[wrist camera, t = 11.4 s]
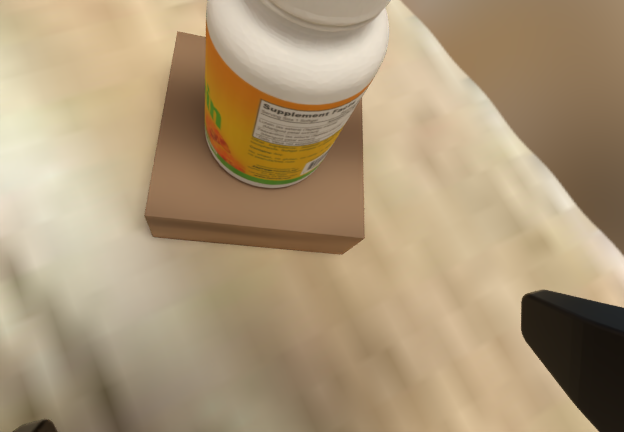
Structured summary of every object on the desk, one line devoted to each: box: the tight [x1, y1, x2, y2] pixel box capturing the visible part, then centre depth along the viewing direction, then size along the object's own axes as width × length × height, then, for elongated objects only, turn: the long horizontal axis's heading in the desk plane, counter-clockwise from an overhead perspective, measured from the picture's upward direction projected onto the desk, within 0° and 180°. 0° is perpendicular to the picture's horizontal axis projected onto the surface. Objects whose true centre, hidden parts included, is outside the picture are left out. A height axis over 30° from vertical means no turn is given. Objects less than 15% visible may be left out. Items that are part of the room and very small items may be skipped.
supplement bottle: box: [205, 0, 390, 188], centre depth 13 cm, size 5×5×10 cm
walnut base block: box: [144, 31, 365, 254], centre depth 19 cm, size 9×9×3 cm
